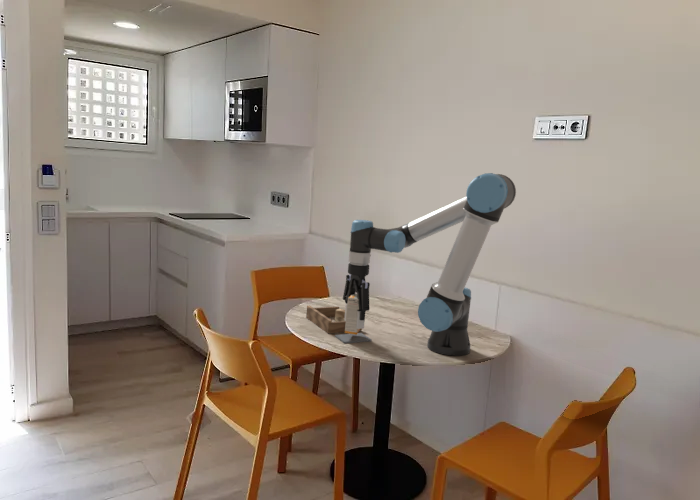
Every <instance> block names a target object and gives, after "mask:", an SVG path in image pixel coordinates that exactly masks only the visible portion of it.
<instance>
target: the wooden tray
mask: <svg viewBox="0 0 700 500" xmlns="http://www.w3.org/2000/svg"><path fill="white" fill-rule="evenodd" d="M337 309H340V306H323V307H321V306H320V307H312V306H311V305H307V306H306V317H305V318H306V319H307V320H309V321H310V322H311V323H313V324H314V325H315V326H317V327H318V328H320V329H321V330H322V331H324V332H325V333H327V334H328V335H329V334H340V333H341V334H342V333H343V334H344V333H345V324H346V321H339V322H336V321H333V320H332V319H331V318H335V313H336V310H337ZM362 330H363V329H360V330H359V332H362Z"/></svg>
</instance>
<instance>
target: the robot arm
mask: <svg viewBox="0 0 700 500" xmlns="http://www.w3.org/2000/svg"><path fill="white" fill-rule="evenodd" d="M516 193H517V190H516V185H515V183H514V182H513V180H512V179H511V178H510V177H508V176H507V175H504V174H499V173H493V172H488V173H485V172H484V173H483V174H480V175H478V176H476V177H474V178H473V179H472V180H471V181H470V182H469V184H468V186H467V188H466V195H465V196H462V197H461V198H459V199H457V200H455V201H452V202H450V203H448V204H445V205H443V206H442V207H440V208H437V209H436V210H433V211H431V212H428V213H426V214H424V215H422V216H420V217H418V218H416V219H413V220H412V221H410V222H408V223H405V224H403V225H401V226H399V227H394V228H388V229H387V228H381V227H380V228H378V227H374V223H373V221H372V220H366V219H355V220H353V221H352V223H351V230H350V244H349V245H350V246H349V254H348V262H349V263H348V265H347V273H348V274H347V275H345V278H346V279H345V284H344V285H345V286H344V289H343V295H342V300H344V302H345V303H344V304H345V307H344V310H345V318H344V321H346V313H347V302H348V297H349V296H350V295H351V294H357V297H358V299H359V301H358V304H359V310H357V311H358V314H357V325H356V328H357V329H362V330H364V328H365V320H366V312H368V311H370V285H371V283H370V282H367V281H366V277H367V276H368V275H369V274H370V265H369V264H370V262H371V261H370V259H371V255H372V254H371V251H372V250H378V251H383V252H388V253H391V254H392V253H397V254H399V253H401V252H402V251H403V250H404V249H405V248H409V247H411V246H412V245H413V244H415V243H417V242H420V241H422V240H424V239H427V238H428V237H431V236H434V235H435V234H438V233H439V232H442V231H445V230H447V229H449V228H451V227H454V226H456V225H458V224H460V223H461V226H460V228H459V230H458V233H457V234H456V235H457V236H456V238H455V240H454V243H453V245H452V247H451V250H450V252H449V255H448V257H447V259H446V261H445V264H444V267H443V269H442V271H441V274H440V275H439V278H438V281H436V282H434V283H432V284H431V285H430V288H429V291H428V292H427V295H426V298H424V299H422V300H421V302H420V303H419V305H418V308H417V317H418V319H419V321H420V323H421V325H422V326H423V327H424V328H426V329H427V330H429V331H431V333H430V335H429V338H428V339H427V345H426V346H427V348H428V349H429V350H430V351H432V352H434V353H437V354H442V355H444V356H445V355H446V356H447V355H448V356H456V357H457V356H466V355H468V354H470V353H471V342H470V337H469V332H468V331H469V330H468V326H469V325H468V324H469V318H470V308H471V301H472V290H471V289H470V288H468V287H466V285H467V283H468V280H469V278H470V276H471V273H472V271H473V269H474V266H475V264H476V262H477V259H478V257H479V254H480V252H481V251H482V248H483V245H484V243H485V242H486V239H487V236H488V234H489V231H490V229H491V227H492V226H493V225H495V224H497V223H499V221H500V219H501V217H502V214H503V212H504V209H507V208H509V206H511V205H512V203H513V202H514V201H515V197H516V195H517V194H516Z"/></svg>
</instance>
